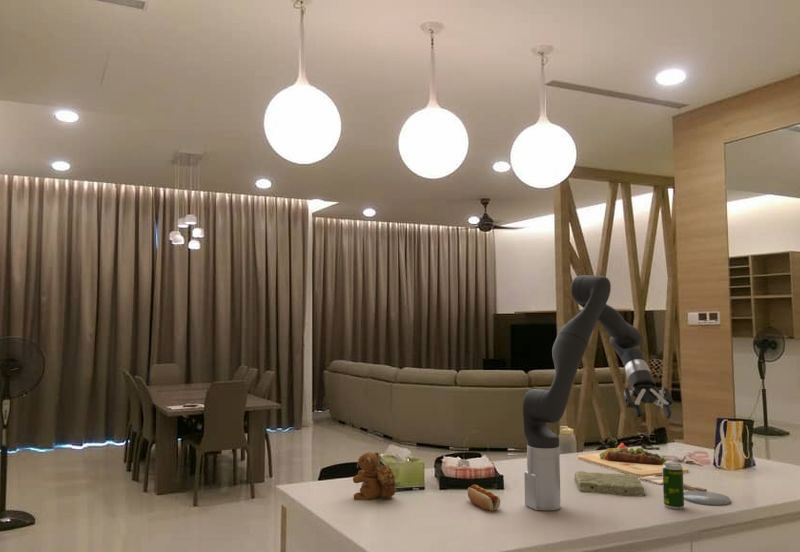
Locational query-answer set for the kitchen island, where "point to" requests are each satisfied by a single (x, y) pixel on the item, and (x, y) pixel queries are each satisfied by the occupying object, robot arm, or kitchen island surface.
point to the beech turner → (660, 481)
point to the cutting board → (628, 461)
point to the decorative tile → (609, 483)
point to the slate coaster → (706, 498)
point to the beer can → (673, 485)
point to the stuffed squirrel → (374, 479)
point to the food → (483, 498)
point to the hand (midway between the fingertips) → (654, 417)
